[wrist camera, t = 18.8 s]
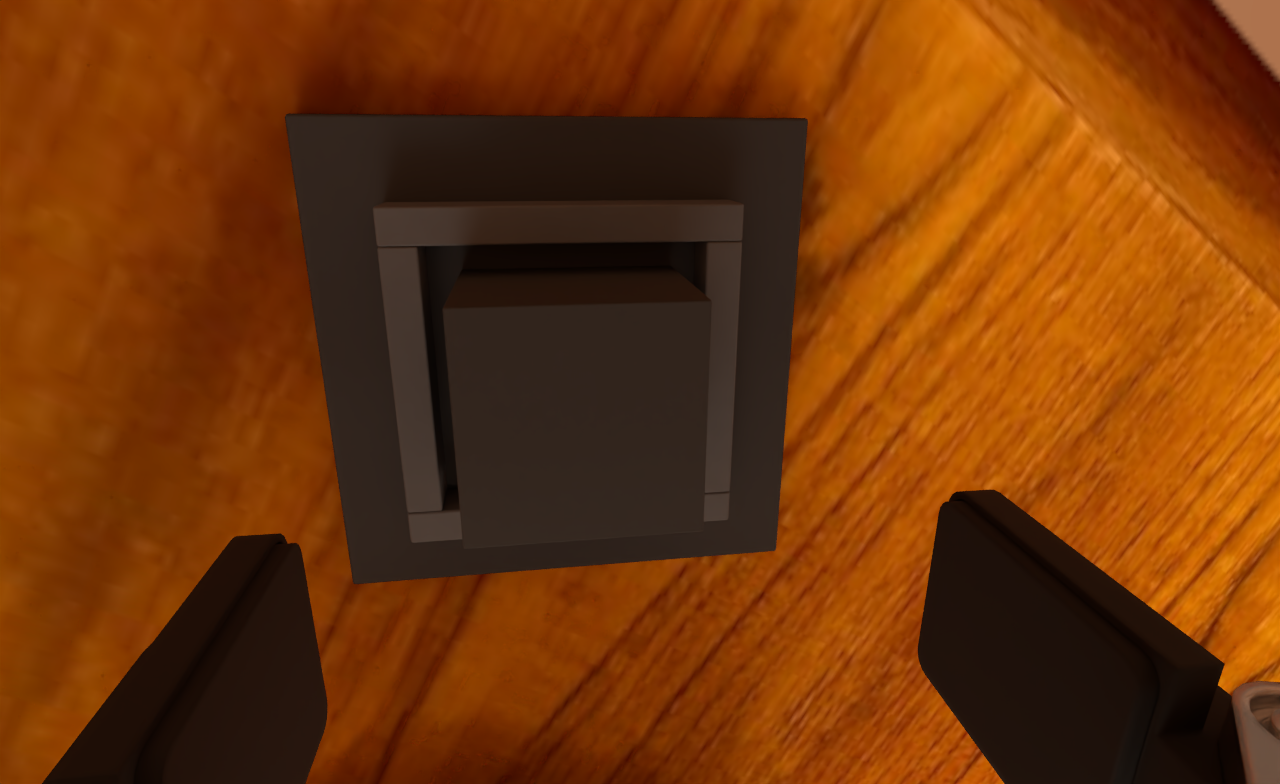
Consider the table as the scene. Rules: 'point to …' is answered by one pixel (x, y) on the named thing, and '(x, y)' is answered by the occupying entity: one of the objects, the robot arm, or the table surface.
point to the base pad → (538, 238)
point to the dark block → (578, 402)
